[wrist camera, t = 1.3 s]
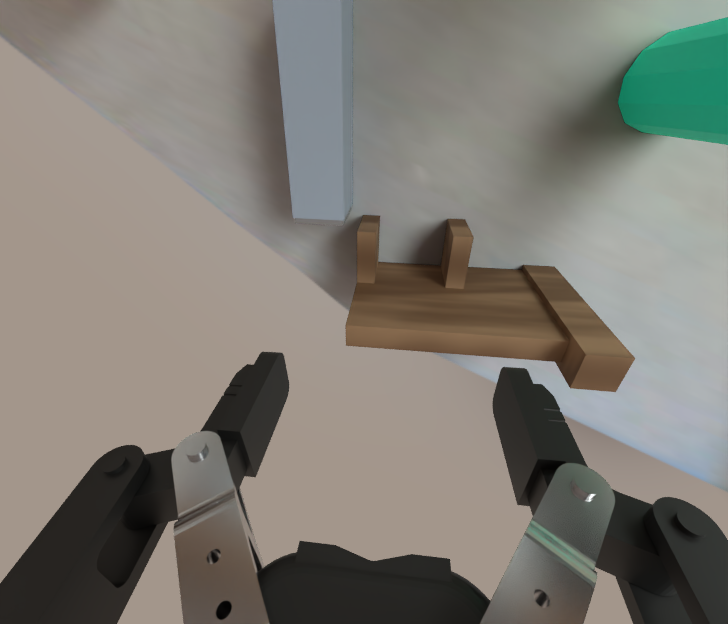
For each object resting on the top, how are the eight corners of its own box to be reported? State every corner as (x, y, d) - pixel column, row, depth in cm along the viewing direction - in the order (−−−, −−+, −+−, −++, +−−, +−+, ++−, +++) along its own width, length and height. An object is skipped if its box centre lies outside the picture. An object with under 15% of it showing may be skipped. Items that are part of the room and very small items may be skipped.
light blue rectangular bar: (294, -10, 23) (269, -34, 19) (353, -10, 22) (340, -35, 18) (309, 206, 30) (293, 223, 26) (352, 208, 30) (343, 226, 26)
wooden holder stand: (363, 215, 30) (338, 280, 19) (569, 224, 29) (668, 300, 18) (362, 282, 34) (341, 369, 23) (545, 293, 32) (615, 391, 22)
